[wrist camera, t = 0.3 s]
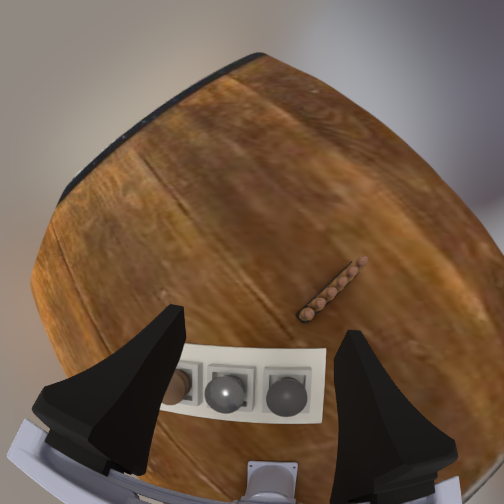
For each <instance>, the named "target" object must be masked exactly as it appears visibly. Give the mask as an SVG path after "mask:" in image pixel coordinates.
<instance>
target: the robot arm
mask: <svg viewBox="0 0 504 504" xmlns="http://www.w3.org/2000/svg"><path fill="white" fill-rule="evenodd" d="M185 341H186V329H185V318H184V307H183V306H178V305H173V304H170V305H168V306H167V307H166V308H165V309H164V310H163V311H162V312H161V313H160V314H159V315H158V316H157V317H156V318H155V319H154V320H153V321H152V322H151V323H150V324H149V325H147V326H146V327H145V328H144V329H143V330H142V331H141V332H140V333H139V334H137V335H136V336H135V337H134V338H133V339H131V340H130V341H129V342H128V343H127V344H125V345H124V346H123V347H121V348H120V349H119V350H117V351H116V352H115V353H113V354H112V355H110V356H109V357H107V358H106V359H104V360H103V361H101V362H99V363H98V364H96V365H94V366H93V367H91V368H89V369H87V370H85V371H83V372H81V373H79V374H77V375H75V376H73V377H70V378H68V379H66V380H63V381H60V382H57V383H54V384H51V385H48V386H45V387H44V388H43V390H42V391H41V393H40V394H39V396H38V398H37V400H36V401H35V403H34V405H33V407H32V411H33V413H34V414H35V415H36V416H37V417H38V418H39V419H40V420H41V421H42V422H43V423H44V424H45V425H47V426H48V427H49V428H50V431H49V433H47V432H46V431H44V430H43V429H42V428H40V427H38V426H37V425H36V424H34V423H33V422H31V421H30V420H29V419H27V418H25V419H24V421H23V423H22V425H21V427H20V429H19V431H18V433H17V435H16V437H15V439H14V441H13V443H12V445H11V447H10V449H9V451H8V453H7V458H8V459H9V460H10V461H12V462H13V463H14V464H15V465H16V466H17V467H18V468H20V469H21V470H22V471H23V472H25V473H26V474H27V475H28V476H29V477H31V478H32V479H33V480H34V481H36V482H37V483H38V484H39V485H41V486H42V487H43V488H44V489H46V490H47V491H49V492H50V493H51V494H52V495H54V496H55V497H57V498H58V499H59V500H61V501H62V502H64V503H65V504H151V503H148V502H145V501H142V500H140V498H139V496H138V495H137V494H139V495H142V496H145V497H148V498H151V499H154V500H157V501H160V502H163V503H167V504H296V499H294V493H295V485H296V476H297V467H298V463H296V462H267V461H249V462H248V482H247V490H246V493H245V496H242V497H241V500H240V501H239V500H234V501H233V502H231V503H228V502H222V501H216V500H211V499H205V498H201V497H196V496H192V495H187V494H183V493H180V492H176V491H172V490H169V489H165V488H162V487H159V486H155V485H152V484H149V483H146V482H144V481H141V480H138V479H135V478H133V477H130V476H127V475H125V474H124V472H125V473H127V474H130V475H131V474H134V475H137V476H141V475H143V474H145V473H146V468H147V462H148V456H149V451H150V446H151V442H152V437H153V433H154V429H155V425H156V421H157V417H158V414H159V410H160V407H161V403H162V401H163V398H164V395H165V393H166V390H167V388H168V386H169V383H170V381H171V379H172V376H173V374H174V372H175V369H176V367H177V365H178V362H179V360H180V358H181V354H182V351H183V348H184V344H185ZM334 384H335V393H336V401H337V411H338V423H339V434H338V452H337V463H336V471H335V478H334V483H333V488H332V493H331V498H330V504H462V501H461V491H460V484H459V477H458V476H455V477H453V478H450V479H447V480H444V481H442V482H439V483H436V484H434V479H437V477H438V476H437V471H439V470H441V469H443V468H445V467H446V466H448V465H450V464H451V463H453V462H454V461H456V460H457V458H458V453H457V448H456V444H455V440H453V439H452V438H450V437H449V436H448V435H446V434H445V433H443V432H442V431H440V430H439V429H438V428H437V427H435V426H434V425H433V424H432V423H431V422H429V421H428V420H427V419H426V418H425V417H424V416H423V415H422V414H421V413H420V412H419V411H418V410H417V409H416V408H415V407H414V406H413V405H412V404H411V403H410V402H409V401H408V399H407V398H406V397H405V396H404V395H403V394H402V392H401V391H400V390H399V389H398V387H397V386H396V385H395V383H394V382H393V381H392V379H391V378H390V376H389V375H388V374H387V372H386V371H385V369H384V368H383V366H382V364H381V363H380V361H379V360H378V358H377V357H376V355H375V353H374V352H373V350H372V349H371V347H370V345H369V344H368V342H367V340H366V339H365V337H364V336H363V334H362V332H361V331H358V330H348V331H347V333H346V335H345V337H344V339H343V341H342V343H341V345H340V347H339V349H338V351H337V353H336V355H335V357H334ZM250 465H252V466H250ZM294 466H295V468H293V467H294ZM297 504H301V503H297Z"/></svg>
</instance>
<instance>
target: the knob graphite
mask: <svg viewBox="0 0 504 504" xmlns="http://www.w3.org/2000/svg"><path fill="white" fill-rule="evenodd" d="M266 403H267V406H268V408H269V409H270V411H271V412H273V413H274V414H275V415H278V416H280V417H292V416H295V415H297V414H299V413H300V412H301V411H302V410H303V409H304V408H305V406H306V404H307V392H306V389H305V388H304V386H303V385H302V384H301V383H300V382H299V381H297V380H296V379H294V378H291V377H284V378H281V379H279V380H277V381H276V382H275V383H274V384H273V385H272V386H271V387H270V388H269V390H268V392H267V396H266Z"/></svg>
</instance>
